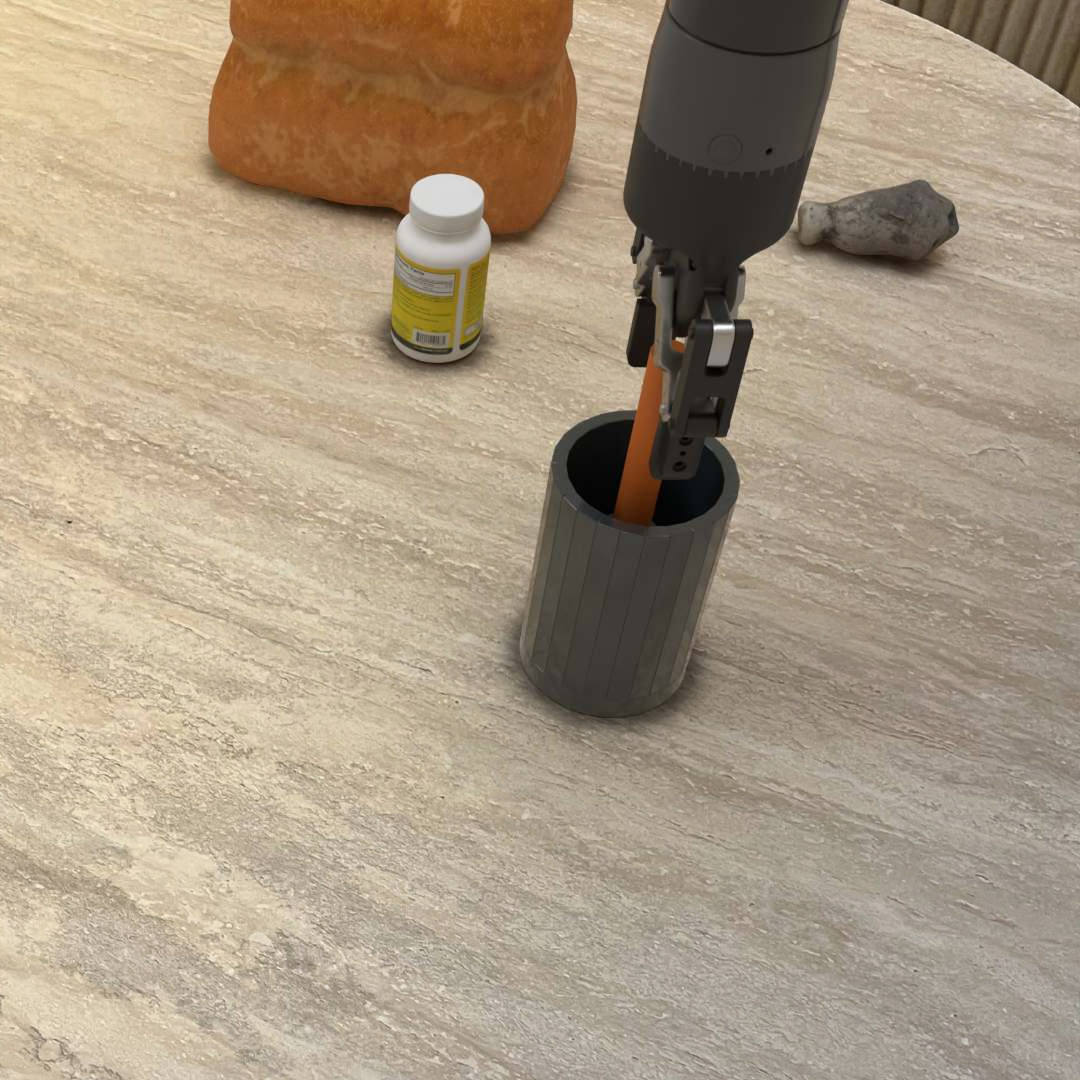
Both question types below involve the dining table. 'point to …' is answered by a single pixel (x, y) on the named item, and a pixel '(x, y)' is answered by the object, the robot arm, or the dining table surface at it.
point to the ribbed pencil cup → (620, 574)
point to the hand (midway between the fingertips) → (658, 416)
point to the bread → (399, 100)
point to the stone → (882, 221)
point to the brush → (642, 451)
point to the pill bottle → (440, 270)
